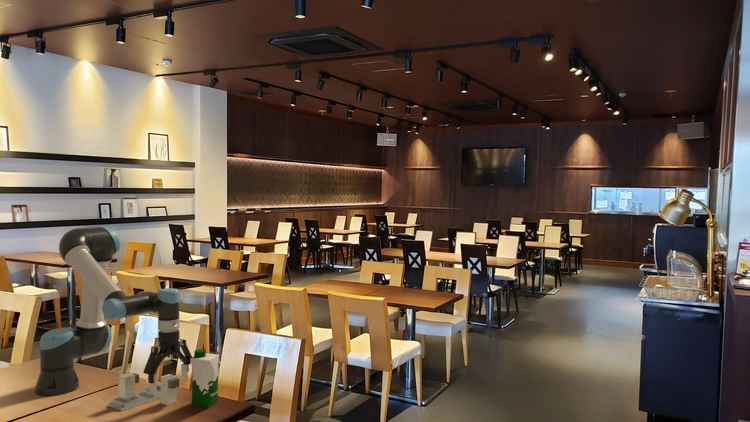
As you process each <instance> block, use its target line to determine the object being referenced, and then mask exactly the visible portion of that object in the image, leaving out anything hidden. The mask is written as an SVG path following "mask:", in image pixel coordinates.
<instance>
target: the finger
mask: <svg viewBox="0 0 750 422" xmlns="http://www.w3.org/2000/svg"><path fill="white" fill-rule="evenodd" d="M160 385H161V397H160V404H162V405H164V406H170V405H172V403H173V404H174V402H176V403H177V397H178V396H177V394H178V393H177V388H180V378H178V377H177V375H174V374H171V373H169V374H165V375H162V376H160ZM169 404H170V405H169Z"/></svg>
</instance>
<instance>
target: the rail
mask: <svg viewBox="0 0 750 422" xmlns="http://www.w3.org/2000/svg"><path fill="white" fill-rule="evenodd" d="M139 383H140V374H139V373H135V372H133V373H130V372H128V373H124V374H123V373H122V374H120V375H118V396H117V397H114V398H112V399H110V400H111V401H110V403H107V407H109V408H112V409H114V410H117V411H119V412H123V411H125V410H128V409H131V408H134V407H137V406H139V405H143V404H145V403H149V402H151V401H154V400H157V399H161V384H157V392H152V391H150V386H149V387H145V388H142V389H140V391H139V392H138V393H136V384H139Z"/></svg>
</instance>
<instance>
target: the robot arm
mask: <svg viewBox="0 0 750 422" xmlns="http://www.w3.org/2000/svg"><path fill="white" fill-rule="evenodd" d="M120 248H121V239H120V237H119V235H118V233H117V231H116V230H115V229H114V228H111V227H109V226H106V227H105V226H96V227H95V226H94V227H93V226H92V227H82V228H81V227H79V228H72V229H70V230H68V231H67V232H66V233H64V234H63V236H62V237H61V238H60V240H59V244H58V251H59V254H60V257H61V258H62V260H63V262H64V263H65V264H66V265H67V266H70V267H72V268H73V269H74V270H75V271H76V272H77V274H78V275H79V276H80V277H81V278H82V280H83V282H82V293H81V304H80V305H81V306H80V315H79V316H80V318H79V319H78V320H77V321H75V326H74V328H75V329H74V328H73V327H68V326H66V327H59V328H54V329H51V330H48V331H46V332H45V333H43V334H42V336H41V338H40V340H39V341H40V344H39V350H40V354H39V355H40V356H39V357H40V358H39V359H40V361H39V362H40V365H39V366H40V368H39V369H40V370H39V371H40V373H39V375H38V378H37V381H36V383H35V388H34V389H35V394H37V395H40V396H57V395H62V394H67V393H70V392H72V391H73V392H74V391H75V390H77V389H78V388H79V387H80V380H79V378H78V374H77V372H76V369H75V360H76V359H80V358H83V357H87V356H91V355H96V354H98V353H100V352H102V353H103V352H104V351H106V350H107V349H108V348H109V347H110V345H111V342H112V338H113V334H112V333H113V332H112V330H111V327H110V326H109V325H108V324H107V321H106V320H105V319H107V320H108V321H113V320H114V321H115V320H122V319H123V318H128V317H132V316H138V315H142V314H148V313H154V314H157V329H158V330H157V331H158V332H157V334H158V335H157V337H158V338H157V339H158V343H159V344H158V346H157V345H156V346H155V345H154V346H153V345H152V346H151V347H150V352H149V353H150V354H149V356H148V359H147V361H146V364H145V366H144V369H143V372H142V373H143V374H146V375H148V383H149V384H150V385H149V387H150V391H152V392H157V385H158V384H157V383H158V382H157V381H158V380H157V378H158V377H157V375H158V374H157V373H156V372H157V371H158V369H159V367H160V365H161V364H162V362H163V361H164V359H165V358H166V357H168V356H171V355H176V357H177V358H178V359H179V360H180V361H181V362H182V363H181V364H180V372H181V373H180V380H181V381H180V382H185V383H187V382H188V373H189V367H190V366H189V365H191V360H190V359H191V358H192V357H193V356H192V353H191V352H190V349H189V347H188V345H187V339H184V338H181V337H180V332H181V331H180V330H179V329H180V302H181V301H180V300H181V299H180V292H179V289H178V288H174V287H173V288H171V287H167V288H161V289H159V290H158V291H157V292H154V291H153V292H152V291H149V290H148V291H140V292H138V293H137V294H132V295H131V294H130V295H126V294H125V293H124V292H123V290H121V288H120V287H119V286H118V285H117V283H116V282H115V281H114V280H113V279H112V278H111V276H110V275H109V274H108V267H109V264H110V263H111V262H112V261H113V258H114V257H113V256H114V255H116V254H117V253H118V251H120ZM104 318H105V319H104ZM179 347H180V348H179Z"/></svg>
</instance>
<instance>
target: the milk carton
mask: <svg viewBox="0 0 750 422" xmlns="http://www.w3.org/2000/svg"><path fill="white" fill-rule="evenodd" d="M193 355H194V356H192V358H191V359H190V360H191V364H190V366H191V407H195V406H198V407H197V408H205V407H206V408H207V409H210V407H212V406H213V405H215V404H216V403H217V402H218V401H219V400H218V399H219V361H220V354H215V353H206V349H203V348H202V349H199V348H198V349H195V350H194V351H193ZM214 403H215V404H214Z"/></svg>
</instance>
